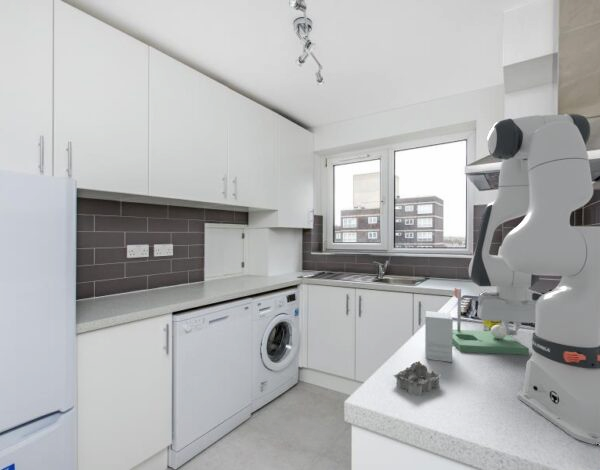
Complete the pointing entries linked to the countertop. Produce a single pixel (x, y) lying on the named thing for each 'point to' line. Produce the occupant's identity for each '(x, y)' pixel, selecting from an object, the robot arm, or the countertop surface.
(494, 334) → the ball
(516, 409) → the countertop surface
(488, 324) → the supplement bottle
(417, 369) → the egg carton
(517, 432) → the countertop surface
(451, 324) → the supplement box
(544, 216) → the robot arm
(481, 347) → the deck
